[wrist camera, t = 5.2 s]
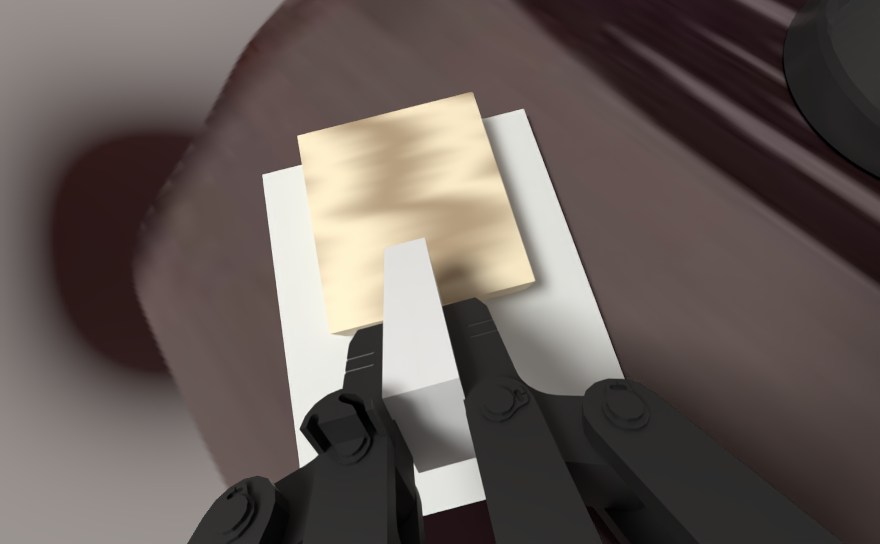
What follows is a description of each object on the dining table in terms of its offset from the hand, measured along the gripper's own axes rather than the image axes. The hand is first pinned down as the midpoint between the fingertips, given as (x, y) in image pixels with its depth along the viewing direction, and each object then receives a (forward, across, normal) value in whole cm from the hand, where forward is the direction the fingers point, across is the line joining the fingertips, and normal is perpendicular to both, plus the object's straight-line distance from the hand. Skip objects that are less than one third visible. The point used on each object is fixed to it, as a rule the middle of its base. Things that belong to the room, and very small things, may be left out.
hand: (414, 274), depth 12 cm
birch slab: (+1, 0, -3) cm, 3 cm away
